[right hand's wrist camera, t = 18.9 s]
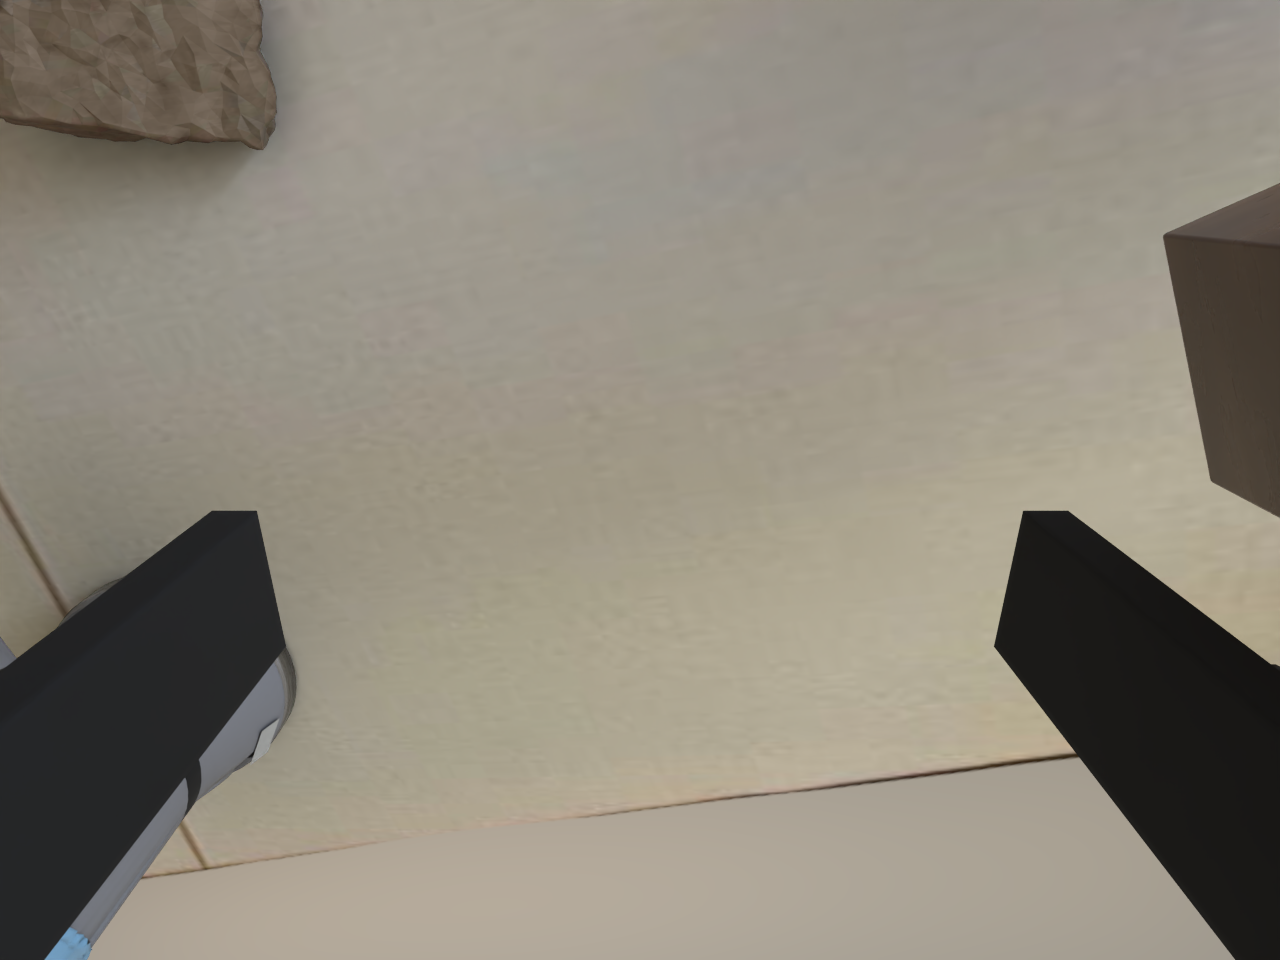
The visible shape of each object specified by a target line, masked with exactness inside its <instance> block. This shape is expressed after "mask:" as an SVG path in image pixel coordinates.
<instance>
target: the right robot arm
mask: <svg viewBox="0 0 1280 960" xmlns="http://www.w3.org/2000/svg"><path fill="white" fill-rule="evenodd" d="M994 647H995V648H996V650H997V651H998V652H999V654H1000V655H1001V656H1002V657H1003V659H1004V660H1005V661H1006V663H1007V664H1008V665H1009V667H1010V668H1011V669H1012V670H1013V672H1014V673H1015V674H1016V676H1017V677H1018V678H1019V680H1020V681H1021V682H1022V683H1023V685H1024V686H1025V687H1026V689H1027V690H1028V691H1029V692H1030V694H1031V695H1032V696H1033V698H1034V699H1035V700H1036V702H1037V703H1038V704H1039V705H1040V707H1041V708H1042V709H1043V711H1044V712H1045V713H1046V715H1047V716H1048V717H1049V718H1050V720H1051V721H1052V722H1053V724H1054V725H1055V726H1056V728H1057V729H1058V730H1059V731H1060V733H1061V734H1062V735H1063V737H1064V738H1065V739H1066V741H1067V742H1068V743H1069V744H1070V746H1071V747H1072V748H1073V750H1074V751H1075V752H1076V753H1077V755H1078V756H1079V757H1080V759H1081V760H1082V761H1083V763H1084V764H1085V765H1086V766H1087V768H1088V769H1089V770H1090V772H1091V773H1092V774H1093V776H1094V777H1095V778H1096V779H1097V781H1098V782H1099V783H1100V785H1101V786H1102V787H1103V789H1104V790H1105V791H1106V792H1107V794H1108V795H1109V796H1110V798H1111V799H1112V800H1113V802H1114V803H1115V804H1116V805H1117V807H1118V808H1119V809H1120V811H1121V812H1122V813H1123V814H1124V816H1125V817H1126V818H1127V820H1128V821H1129V822H1130V824H1131V825H1132V826H1133V827H1134V829H1135V830H1136V831H1137V833H1138V834H1139V835H1140V837H1141V838H1142V839H1143V840H1144V842H1145V843H1146V844H1147V846H1148V847H1149V848H1150V849H1151V851H1152V852H1153V853H1154V855H1155V856H1156V857H1157V859H1158V860H1159V861H1160V863H1161V864H1162V865H1163V866H1164V868H1165V869H1166V870H1167V872H1168V873H1169V874H1170V875H1171V877H1172V878H1173V879H1174V881H1175V882H1176V883H1177V885H1178V886H1179V887H1180V888H1181V890H1182V891H1183V892H1184V894H1185V895H1186V896H1187V898H1188V899H1189V900H1190V901H1191V903H1192V904H1193V905H1194V907H1195V908H1196V909H1197V910H1198V912H1199V913H1200V914H1201V916H1202V917H1203V918H1204V920H1205V921H1206V922H1207V924H1208V925H1209V926H1210V927H1211V929H1212V930H1213V931H1214V933H1215V934H1216V935H1217V936H1218V938H1219V939H1220V940H1221V942H1222V943H1223V944H1224V946H1225V947H1226V948H1227V950H1228V951H1229V952H1230V953H1231V955H1232V956H1233V957H1234V959H1235V960H1280V666H1278V665H1276V664H1270V663H1268V662H1267V661H1266V660H1264V659H1263V658H1262V657H1260V656H1259V655H1258V654H1256V653H1255V652H1254V651H1252V650H1251V649H1250V648H1249V647H1247V646H1246V645H1245V644H1243V643H1242V642H1241V641H1239V640H1238V639H1237V638H1235V637H1234V636H1233V635H1231V634H1230V633H1229V632H1227V631H1226V630H1225V629H1223V628H1222V627H1221V626H1219V625H1218V624H1217V623H1216V622H1214V621H1213V620H1212V619H1210V618H1209V617H1208V616H1206V615H1205V614H1204V613H1202V612H1201V611H1200V610H1198V609H1197V608H1196V607H1194V606H1193V605H1192V604H1190V603H1189V602H1188V601H1186V600H1185V599H1184V598H1182V597H1181V596H1180V595H1179V594H1177V593H1176V592H1175V591H1173V590H1172V589H1171V588H1169V587H1168V586H1167V585H1165V584H1164V583H1163V582H1161V581H1160V580H1159V579H1157V578H1156V577H1155V576H1153V575H1152V574H1151V573H1149V572H1148V571H1147V570H1145V569H1144V568H1143V567H1142V566H1140V565H1139V564H1138V563H1136V562H1135V561H1134V560H1132V559H1131V558H1130V557H1128V556H1127V555H1126V554H1124V553H1123V552H1122V551H1120V550H1119V549H1118V548H1116V547H1115V546H1114V545H1112V544H1111V543H1110V542H1108V541H1107V540H1106V539H1105V538H1103V537H1102V536H1101V535H1099V534H1098V533H1097V532H1095V531H1094V530H1093V529H1091V528H1090V527H1089V526H1087V525H1086V524H1085V523H1083V522H1082V521H1081V520H1079V519H1078V518H1077V517H1075V516H1074V515H1073V514H1071V513H1070V512H1069V511H1023V514H1022V519H1021V524H1020V528H1019V533H1018V538H1017V542H1016V547H1015V552H1014V556H1013V561H1012V566H1011V570H1010V575H1009V580H1008V584H1007V589H1006V593H1005V598H1004V603H1003V607H1002V612H1001V617H1000V621H999V626H998V631H997V635H996V640H995V645H994ZM295 696H296V677H295V671H294V667H293V663H292V660H291V658H290V655H289V652H288V651H287V649H286V645H285V640H284V635H283V631H282V626H281V621H280V617H279V612H278V607H277V603H276V598H275V593H274V589H273V584H272V580H271V575H270V570H269V566H268V561H267V556H266V552H265V547H264V542H263V538H262V533H261V528H260V524H259V519H258V514H257V511H211V512H210V513H209V514H207V515H206V516H205V517H203V518H202V519H201V520H199V521H198V522H197V523H195V524H194V525H193V526H191V527H190V528H189V529H187V530H186V531H185V532H183V533H182V534H181V535H179V536H178V537H177V538H175V539H174V540H173V541H172V542H170V543H169V544H168V545H166V546H165V547H164V548H162V549H161V550H160V551H158V552H157V553H156V554H154V555H153V556H152V557H150V558H149V559H148V560H146V561H145V562H144V563H142V564H141V565H140V566H138V567H137V568H136V569H135V570H133V571H132V572H131V573H129V574H128V575H127V576H125V577H124V578H121V579H118V580H115V581H113V582H111V583H109V584H106V585H104V586H103V587H101V588H100V589H98V590H97V591H95V592H94V593H92V594H91V595H90V596H88V597H87V598H86V599H84V600H83V601H82V602H80V603H79V604H78V605H77V606H75V607H74V608H73V609H72V610H71V611H70V612H69V613H68V614H67V615H66V616H65V617H64V619H63V620H62V622H61V623H60V624H59V626H58V627H57V629H55V630H54V631H53V632H51V633H50V634H49V635H47V636H46V637H45V638H43V639H42V640H41V641H39V642H38V643H37V644H35V645H34V646H33V647H31V648H30V649H29V650H28V651H26V652H25V653H24V654H22V655H21V656H20V657H18V658H16V657H15V656H14V654H13V653H12V652H11V650H10V649H9V648H8V646H7V645H6V644H5V642H4V641H3V640H2V638H1V637H0V960H87V959H88V957H89V954H90V952H91V950H92V949H91V948H92V946H93V945H94V944H95V942H96V941H97V939H98V938H99V937H100V935H101V934H102V932H103V931H104V930H105V928H106V927H107V925H108V924H109V923H110V921H111V920H112V918H113V917H114V916H115V914H116V913H117V911H118V910H119V909H120V907H121V906H122V904H123V903H124V902H125V900H126V899H127V897H128V896H129V895H130V893H131V892H132V890H133V889H134V887H135V886H136V885H137V883H138V882H139V881H140V879H141V878H142V876H143V875H144V873H145V872H146V871H147V869H148V868H149V866H150V865H151V864H152V862H153V861H154V859H155V858H156V857H157V855H158V854H159V852H160V851H161V850H162V848H163V847H164V845H165V844H166V843H167V841H168V840H169V838H170V837H171V836H172V834H173V833H174V831H175V830H176V829H177V827H178V826H179V824H180V823H181V821H182V820H183V818H184V817H185V816H186V814H187V813H188V812H189V810H190V809H191V808H192V806H193V805H194V803H195V802H196V801H197V800H198V799H200V798H201V797H203V796H204V795H205V794H207V793H208V792H210V791H211V790H212V789H214V788H215V787H216V786H218V785H219V784H220V783H222V782H223V781H224V780H225V779H226V778H227V777H229V776H230V775H231V773H232V772H234V771H236V770H238V769H240V768H242V767H244V766H245V765H247V764H248V763H250V762H251V761H252V762H251V764H253V763H254V762H255V761H256V760H258V759H259V758H260V757H262V756H263V755H264V754H265V753H267V752H268V750H269V747H270V744H271V743H272V742H273V740H274V739H275V737H276V736H277V734H278V733H279V731H280V730H281V728H282V727H283V725H284V724H285V722H286V721H287V719H288V717H289V715H290V713H291V711H292V708H293V705H294V701H295Z"/></svg>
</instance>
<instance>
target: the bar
mask: <svg viewBox="0 0 1280 960" xmlns="http://www.w3.org/2000/svg"><path fill="white" fill-rule="evenodd" d="M1163 240H1164V245H1165V250H1166V255H1167V260H1168V265H1169V270H1170V276H1171V281H1172V286H1173V291H1174V296H1175V301H1176V306H1177V311H1178V316H1179V321H1180V327H1181V332H1182V337H1183V342H1184V347H1185V352H1186V357H1187V362H1188V367H1189V373H1190V378H1191V383H1192V388H1193V393H1194V398H1195V403H1196V408H1197V413H1198V419H1199V424H1200V429H1201V434H1202V439H1203V444H1204V449H1205V454H1206V459H1207V464H1208V470H1209V475H1210V479H1211V481H1212V482H1213V483H1215V484H1217V485H1219V486H1220V487H1222V488H1224V489H1226V490H1228V491H1230V492H1232V493H1234V494H1236V495H1238V496H1239V497H1241V498H1243V499H1245V500H1247V501H1249V502H1251V503H1253V504H1255V505H1256V506H1258V507H1260V508H1262V509H1264V510H1266V511H1268V512H1270V513H1272V514H1273V515H1275V516H1277V517H1279V518H1280V183H1279V184H1277V185H1275V186H1272V187H1270V188H1268V189H1265V190H1263V191H1261V192H1259V193H1256V194H1254V195H1252V196H1249V197H1247V198H1245V199H1243V200H1240V201H1238V202H1236V203H1234V204H1231V205H1229V206H1227V207H1224V208H1222V209H1220V210H1218V211H1215V212H1213V213H1211V214H1208V215H1206V216H1204V217H1202V218H1199V219H1197V220H1195V221H1193V222H1190V223H1188V224H1186V225H1183V226H1181V227H1179V228H1177V229H1174V230H1172V231H1170V232H1167V233H1166V234H1164V235H1163Z"/></svg>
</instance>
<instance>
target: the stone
mask: <svg viewBox="0 0 1280 960" xmlns="http://www.w3.org/2000/svg"><path fill="white" fill-rule="evenodd" d="M262 17H263V11H262V8H261V5H260V2H259V0H0V118H4V119H5V121H6V122H8V123H12V124H16V125H25V126H33V127H37V128H41V129H46V130H51V131H55V132H60V133H66V134H72V135H74V136H77V137H84V138H98V139H108V140H112V141H133V142H136V141H138V140H141V139H144V138H150V139H154V140H157V141H161V142H164V143H168V144H171V145H172V144H176V143H181V142H184V141H193V142H204V143H210V142H213V141H222V142H235V141H241V142H243V143H244V144H245V145H247V146H248V147H250V148H253V149H256V150H263V149H264V148H265V146H266V145H267V143H268V140H269V137H270V136H271V134H272V133H273V132H274V130H275V125H276V124H275V121H274V117H275V115H276V113H277V110H276V92H275V88H274V85H273V82H272V79H271V74H270V70H269V68H268V66H267V63H266V62H265V60H264V58H263V56H262V54H261V52H260V44H261V40H262V28H261V25H262Z"/></svg>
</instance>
